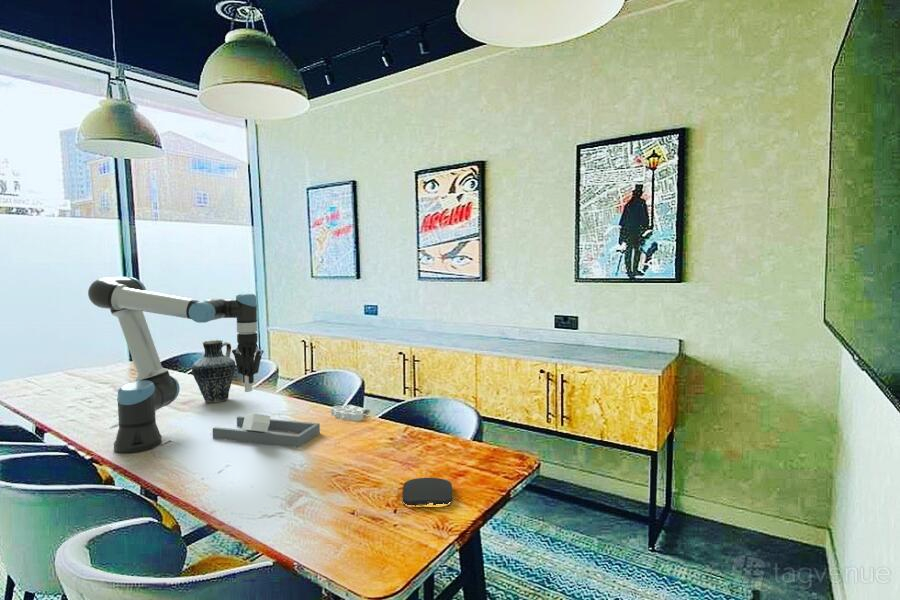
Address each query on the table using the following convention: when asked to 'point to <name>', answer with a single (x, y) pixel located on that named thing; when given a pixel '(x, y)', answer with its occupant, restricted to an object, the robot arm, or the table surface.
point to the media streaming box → (427, 491)
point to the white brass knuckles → (349, 412)
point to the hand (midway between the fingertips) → (248, 391)
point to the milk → (256, 422)
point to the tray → (271, 438)
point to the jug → (214, 371)
